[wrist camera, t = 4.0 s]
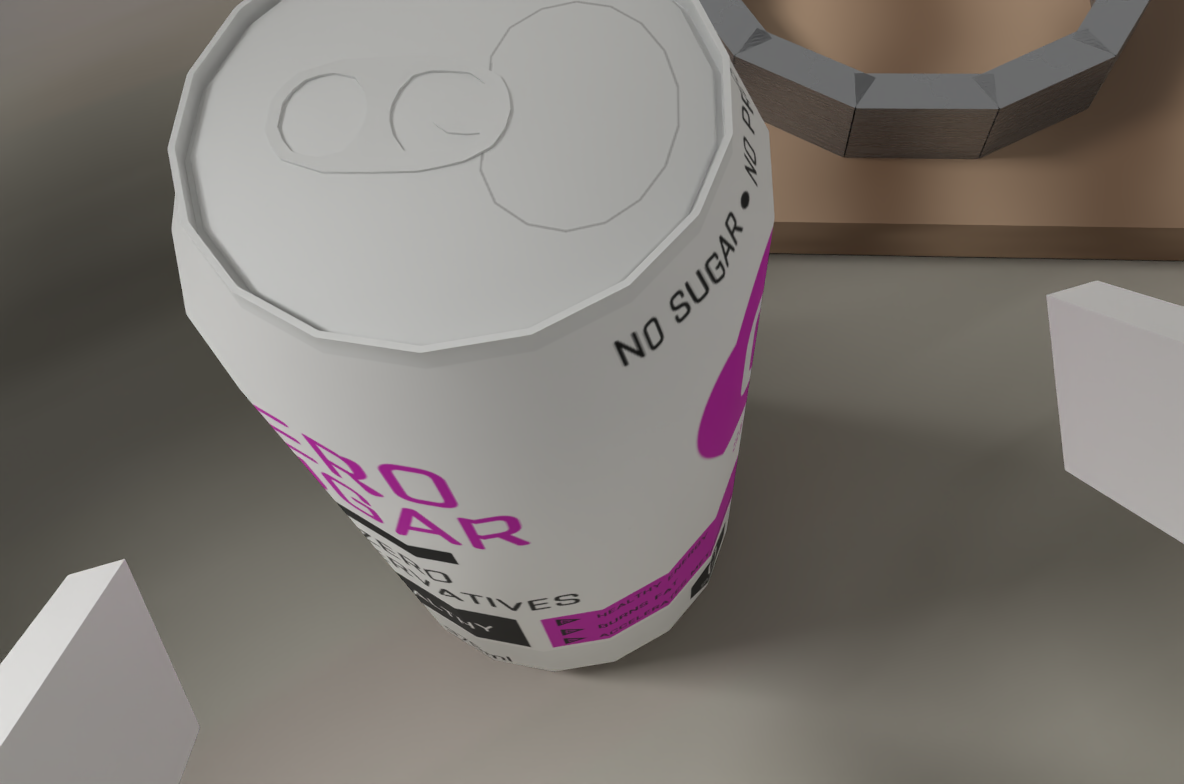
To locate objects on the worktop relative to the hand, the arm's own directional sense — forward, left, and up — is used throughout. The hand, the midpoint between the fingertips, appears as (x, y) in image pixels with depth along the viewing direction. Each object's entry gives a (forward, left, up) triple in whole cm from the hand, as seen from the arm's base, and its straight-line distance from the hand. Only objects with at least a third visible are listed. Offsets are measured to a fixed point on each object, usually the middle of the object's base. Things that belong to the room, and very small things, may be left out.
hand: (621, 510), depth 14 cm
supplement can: (-2, +4, -11) cm, 12 cm away
